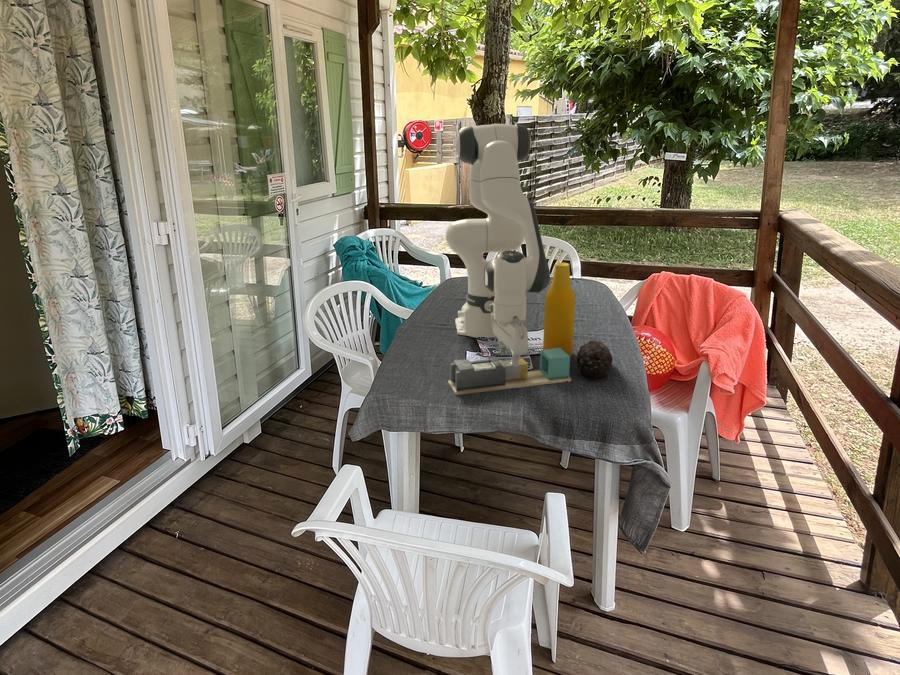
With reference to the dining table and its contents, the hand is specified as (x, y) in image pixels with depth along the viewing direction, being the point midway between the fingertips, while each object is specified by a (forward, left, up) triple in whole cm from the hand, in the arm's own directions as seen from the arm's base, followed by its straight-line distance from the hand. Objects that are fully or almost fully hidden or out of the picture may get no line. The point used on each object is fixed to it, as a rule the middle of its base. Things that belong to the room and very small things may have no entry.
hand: (508, 359), depth 176 cm
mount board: (-1, +1, -7) cm, 7 cm away
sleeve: (-1, -9, -7) cm, 12 cm away
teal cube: (-1, +14, -7) cm, 16 cm away
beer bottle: (-17, +22, -8) cm, 29 cm away
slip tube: (-1, -5, -5) cm, 7 cm away
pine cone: (-2, +27, -8) cm, 28 cm away
